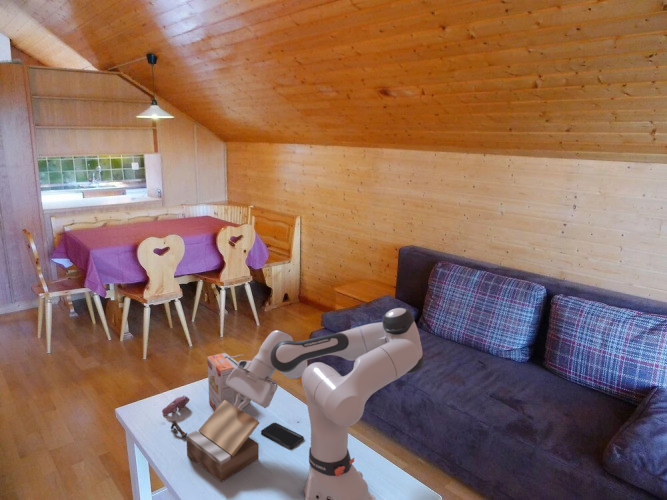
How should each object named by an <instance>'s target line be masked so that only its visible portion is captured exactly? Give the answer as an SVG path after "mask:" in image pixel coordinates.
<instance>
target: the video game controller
mask: <svg viewBox="0 0 667 500" xmlns="http://www.w3.org/2000/svg"><path fill="white" fill-rule="evenodd" d="M188 403H190V398H189V397H187V396H186V395H183V396H180V397H176V398H175V399H174V400H173V401H172V402H170V403H169V404H168V405H167V406H166V407H164V408H163V409H162V414H163V415H164V416H167V415H170V414H173V415H174V414H175V413H177V412H178V410H179V411H181V410H182V409H183V408H184V407H185V406H186V405H187V404H188Z"/></svg>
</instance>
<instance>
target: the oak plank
mask: <svg viewBox="0 0 667 500" xmlns="http://www.w3.org/2000/svg"><path fill="white" fill-rule="evenodd" d="M259 425H260V421H259V420H258V419H256V418H255V417H253V416H251V415H250V414H248V413H247V412H245V411H243V410H242V411H240V410H238V409H237V408H235V407H234V406H233V405H232V404H230V403H229V402H227V401H226V400H224V401H223V402H222V403H221V404H220V406H219V407H218V408H217V409H216V410H214V411H213V412H212V414H211V415H210V416H209V417H208V418H207V419H206V421H205V422H204V423H203V424H202V425H201V427H200V428H199V429H198V430H197V431H198V432H200V433H201V434H202V435H204V436H205V437H206V438H208V439H209V440H211V441H212V442H213V443H215V444H216V445H217V446H219V447H220V448H222V449H223V450H224V451H226V452H227V453H228V454H230V455H231V456H234V455H235V454H236V453H237V451H238V450H239V449H240V447H241V446H242V445H243V444H244V442H245V441H246V440H247V439H248V437H249V438H250V436H251V435H252V433H253V432H254V431H255V429H256V428H257V427H258V426H259Z"/></svg>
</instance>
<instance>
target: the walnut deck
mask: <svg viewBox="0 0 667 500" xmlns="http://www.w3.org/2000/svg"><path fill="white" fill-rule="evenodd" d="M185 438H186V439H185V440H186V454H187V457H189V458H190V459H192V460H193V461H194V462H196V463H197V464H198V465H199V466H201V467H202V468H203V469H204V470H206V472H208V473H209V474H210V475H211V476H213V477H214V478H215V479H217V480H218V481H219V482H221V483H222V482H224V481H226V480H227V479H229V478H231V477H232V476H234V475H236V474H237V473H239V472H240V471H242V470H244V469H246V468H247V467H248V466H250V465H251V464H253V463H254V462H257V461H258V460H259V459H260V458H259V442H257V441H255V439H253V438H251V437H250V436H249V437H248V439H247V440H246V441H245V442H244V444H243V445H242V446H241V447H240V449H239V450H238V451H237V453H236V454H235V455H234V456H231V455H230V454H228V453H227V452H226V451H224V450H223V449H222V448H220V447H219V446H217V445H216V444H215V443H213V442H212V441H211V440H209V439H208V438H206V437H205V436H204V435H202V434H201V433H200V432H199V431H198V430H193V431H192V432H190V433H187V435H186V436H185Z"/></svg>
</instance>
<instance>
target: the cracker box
mask: <svg viewBox="0 0 667 500" xmlns="http://www.w3.org/2000/svg"><path fill="white" fill-rule="evenodd" d="M206 357H207V375H208V377H207V378H208V379H207V381H208V382H207V383H208V400H209V401H208V403H209V404H210V407H212V409H213V410H214V411H215V410H216V409H217V408H218V407H219V406H220V404H221V403H222V402H223V401H224V400H226V401H227V402H229V403H230V404H232V405H234V404H235V390H233V389H232V388H230V387H228V386H227V385H226V380H227V378H228V376H229V375H230V373H231V372H232V371H233V369H234V367H233V366H232V365H231V364H230V363H229V362H228V361H227V360H226V359H225V357H224V356H223V355H222V353H221V352H220V353H217V354H212V355H208V356H206Z"/></svg>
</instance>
